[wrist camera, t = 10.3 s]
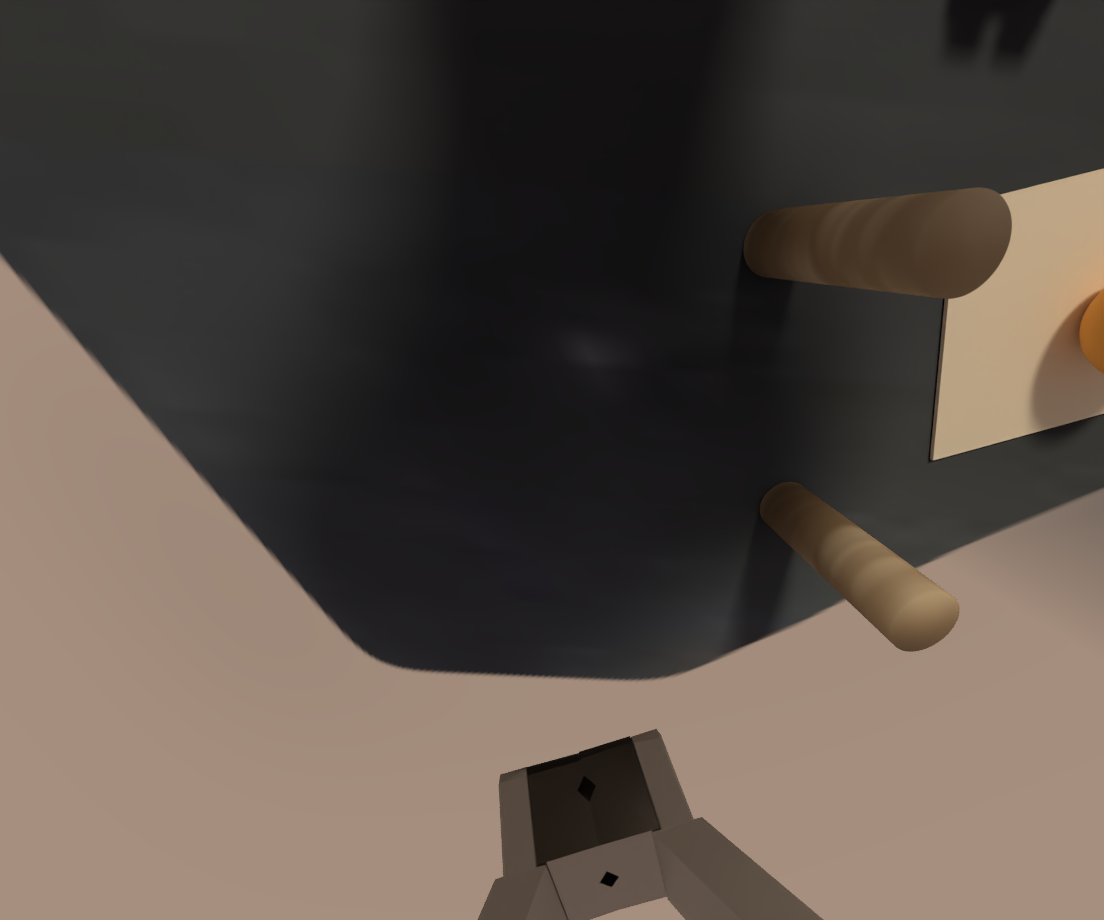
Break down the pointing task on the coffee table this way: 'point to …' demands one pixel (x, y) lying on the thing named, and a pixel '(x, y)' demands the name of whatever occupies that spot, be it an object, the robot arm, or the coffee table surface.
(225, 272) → the coffee table surface
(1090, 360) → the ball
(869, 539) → the post
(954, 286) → the post
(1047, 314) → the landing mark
